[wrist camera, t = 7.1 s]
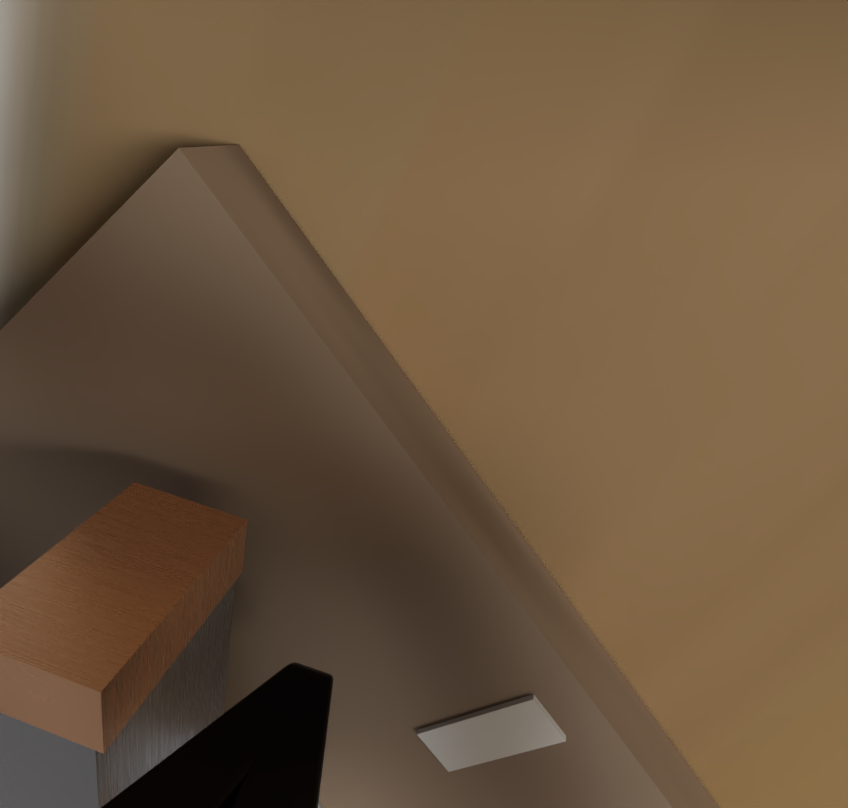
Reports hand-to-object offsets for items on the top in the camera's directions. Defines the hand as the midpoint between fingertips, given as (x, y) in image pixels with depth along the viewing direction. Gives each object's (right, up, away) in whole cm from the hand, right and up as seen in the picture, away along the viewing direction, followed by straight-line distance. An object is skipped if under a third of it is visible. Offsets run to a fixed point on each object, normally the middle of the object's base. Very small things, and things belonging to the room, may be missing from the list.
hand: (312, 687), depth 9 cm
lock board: (-3, -5, +6) cm, 8 cm away
